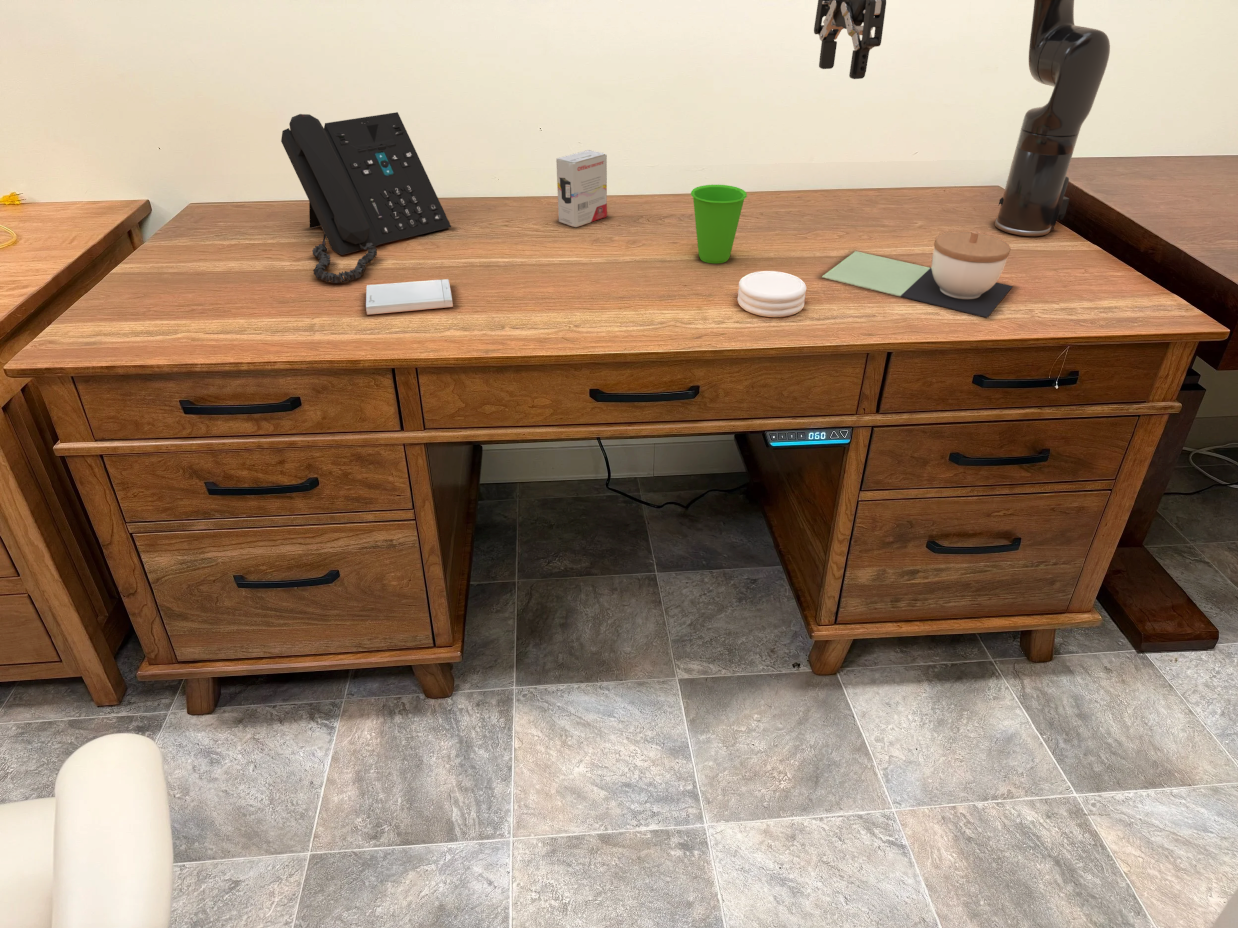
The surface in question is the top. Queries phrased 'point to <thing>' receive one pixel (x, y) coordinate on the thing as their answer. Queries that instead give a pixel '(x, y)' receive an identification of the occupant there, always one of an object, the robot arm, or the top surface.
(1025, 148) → the robot arm
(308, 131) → the office phone
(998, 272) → the trinket box
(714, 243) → the cup
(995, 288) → the runner mat
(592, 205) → the ink box
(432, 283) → the hard drive
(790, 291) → the white round stack
